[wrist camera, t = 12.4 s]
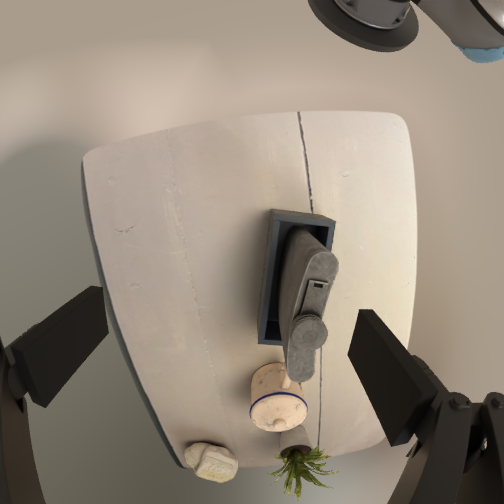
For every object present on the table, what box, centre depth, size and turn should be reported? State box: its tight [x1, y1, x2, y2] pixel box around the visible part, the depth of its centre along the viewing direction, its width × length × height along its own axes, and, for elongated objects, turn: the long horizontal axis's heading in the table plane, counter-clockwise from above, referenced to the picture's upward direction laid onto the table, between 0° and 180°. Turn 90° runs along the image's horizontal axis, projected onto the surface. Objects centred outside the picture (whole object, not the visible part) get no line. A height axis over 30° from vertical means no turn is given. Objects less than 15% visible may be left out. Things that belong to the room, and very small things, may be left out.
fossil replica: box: [184, 442, 238, 483], centre depth 48 cm, size 12×8×10 cm
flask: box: [276, 226, 339, 383], centre depth 32 cm, size 4×14×18 cm, turn 174°
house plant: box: [270, 426, 337, 500], centre depth 42 cm, size 14×14×16 cm
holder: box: [257, 209, 336, 346], centre depth 38 cm, size 18×8×7 cm, turn 174°
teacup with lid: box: [250, 362, 307, 432], centre depth 40 cm, size 12×9×12 cm
